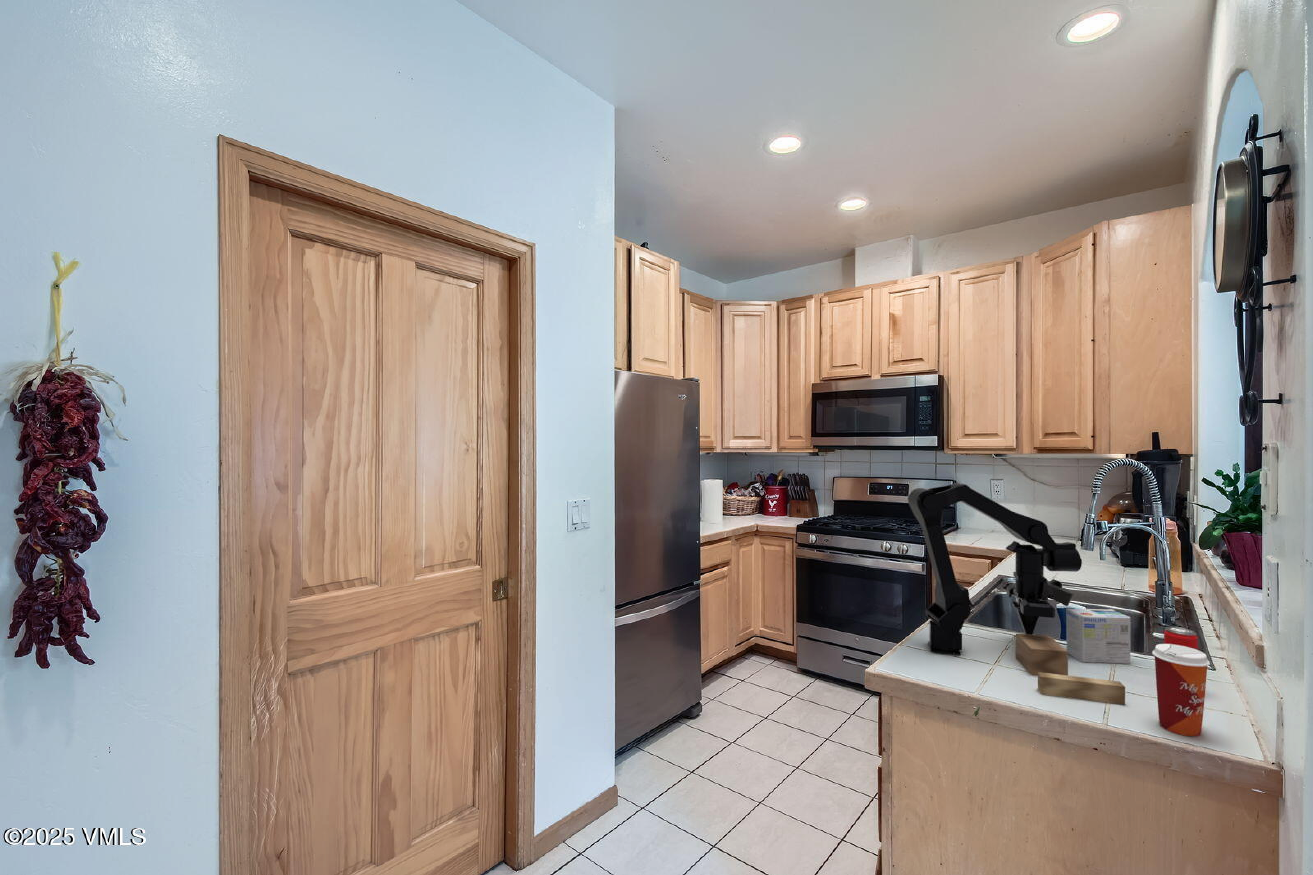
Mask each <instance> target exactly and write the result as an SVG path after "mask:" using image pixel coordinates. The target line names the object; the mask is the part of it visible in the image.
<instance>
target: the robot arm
mask: <svg viewBox="0 0 1313 875" xmlns="http://www.w3.org/2000/svg"><path fill="white" fill-rule="evenodd" d="M907 502H908V503H907V504H908V506H909V507H910V510H911V511H912V513H913V516H914V517H915V518H916V521H917V522H918V523H919V525H920V527H921V530H922V533H923V537H924V541H925V545H926V549H927V553H928V556H929V560H930V563H931V566H932V570H933V576H934V578H935V586H934V587H935V588H934V602H933V603H932V604H931V605H930V606H929V607H927V608H926V610H925V613H926V617H927V618H928V619H929V622H928V623H929V626H928V628H929V633H928V634H929V640H928V643H927V644H928V647H929V650H930V652H931V653H937V654H946V655H955V656H960V655H962V654H961V653H962V652H961V651H962V650H963V633H962V629H963V626H964V624H965V621H966V620H967V619H968V618H969V616H970V615H971V614H972V608H971V607H974V604H973V603H972V602H971V599H970V593H969V589H968V588H967V587H965V586H964V585H962V584H960V583H958V582H957V581H958V580H957V578H956V575H955V572H954V568H953V563H952V559H951V556H950V552H949V550H948V549H949V548H948V546H947V541H946V538H945V534H944V530H943V526H942V522H943V521H942V520H943V515H944V510H943V508H945V507H950V506H952V505H954V504H957V503H959V502H960V503H963V504H965V505H966V506H968V507H970V508H971V509H973V510H975V511H977V512H979V513H980V514H983V515H984V516H985V517H988V518H989V519H991V520H993V521H995V522H997V523H999V525H1001V526H1002V527H1003V528H1004V529H1005V530H1006V532H1008V533H1009V534H1011V536H1013V537H1015V538H1016V539H1017V540H1020V541H1023V542H1025V543H1029V544H1020V542H1019V541H1015V540H1013V541H1012V542H1011V543H1010V544H1008V545H1007V546H1006V547H1005V550H1006V551H1009V552H1011V553H1015V568H1014V569H1015V570H1014V571H1013V573H1012V574H1013V575H1012V576H1013V577H1014V578H1015V579H1014V580H1015V582H1014V583H1010V584H1009V585H1007V586H1006V596H1007V597H1008V598H1012V596H1014V597H1015V601H1012V602H1011V604H1012V606H1013V608H1014V610H1015V612H1016V615H1017V617H1018V619H1019V622H1020V624H1021V626H1022V628H1023V631H1024V634H1032V635H1034V631H1035V629H1036V626H1037V622H1038V620H1039V618H1049V619H1051V618H1052V619H1054V618H1056V608H1055V607H1053V606H1052V605H1051V604H1050V603H1049V602H1048V601H1049V599H1050V600H1052V601H1055V602H1057V603H1060V604H1061V605H1063V606H1065V607H1068V606H1069V604H1070V602H1071V601H1072V599H1073V596H1074V593H1073V592H1071V591H1070V590H1069V589H1067V588H1066V587H1063V583H1062V582H1061V581H1060V580H1057V579H1054V578H1053V579H1051V580H1049V581H1048V579H1047V578H1046V577H1045V576H1044V575H1045V574H1044V572H1045V570H1044V567H1045V568H1046V569H1047V570H1048V571H1049V572H1070V573H1071V572H1073V573H1075V572H1079V571H1080V570H1081V568H1082V564H1083V561H1082V559H1083V558H1081V555H1080V552H1079V551H1078V549H1077V544H1076V543H1074V542H1069V541H1067V542H1056V541H1055V540H1054V538H1053V537H1052V536H1051V535H1050V533H1049V529H1048V526H1047V524H1046V523H1045V522H1043V521H1042V520H1038V519H1035V518H1033V517H1031V516H1027V515H1024V514H1021V513H1018V512H1014V510H1013V511H1012V510H1010V509H1009V508H1007V507H1005V506H1003V505H1001V504H1000V503H998V502H997V501H995V500H993V499H991V498H988V496H985V495H984V494H982V493H979V492H978V491H976V490H975V489H973V488H971V487H970V486H969V485H968V484H965V483H961V482H954V483H951V484H948V485H943V486H942V485H941V486H936V487H930V488H924V487H917V488H914V489H913V490H912V491H910V493H909V494H908V496H907ZM1035 545H1036V546H1039V547H1041V548H1037V547H1035Z"/></svg>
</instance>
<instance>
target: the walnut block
mask: <svg viewBox="0 0 1313 875" xmlns="http://www.w3.org/2000/svg"><path fill="white" fill-rule="evenodd" d="M1015 659H1016V660H1017V662H1019V664H1020V665H1021V666H1022V668H1024V669H1025V671H1026V672H1028V674H1029V675H1030V676H1033V677H1034V676H1035V677H1038V672H1042V673H1050V674H1059V675H1068V676H1069V653H1068V651H1067V648H1066V649H1065V647H1063V646H1062V645H1061V644H1060V643H1059V642H1058V641H1057V640H1055V639H1054V638H1053V637H1052V636H1050V635H1043V634H1033V635H1032V634H1026V633H1017V632H1016V633H1015Z"/></svg>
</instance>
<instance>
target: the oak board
mask: <svg viewBox="0 0 1313 875" xmlns="http://www.w3.org/2000/svg"><path fill="white" fill-rule="evenodd" d="M1037 690H1038V692H1039V693H1040V695H1046V696H1053V697H1062V698H1069V699H1078V700H1085V701H1093V702H1100V703H1109V704H1114V705H1115V704H1116V705H1126V686H1125V685H1124V683H1122V682H1121V681H1120V680H1110V679H1103V678H1102V679H1100V678H1093V677H1082V676H1077V675H1076V676H1074V675H1069V674H1068V675H1059V674H1050V673H1042V672H1038V676H1037Z"/></svg>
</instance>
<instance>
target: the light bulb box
mask: <svg viewBox="0 0 1313 875" xmlns="http://www.w3.org/2000/svg"><path fill="white" fill-rule="evenodd" d="M1065 610H1066V614H1065V615H1066V616H1065V617H1066V618H1065V620H1066V650H1067V651H1068V655H1070V656H1072V657H1073V658H1075V659H1077V660H1078V661H1080V662H1081V663H1101V664H1102V663H1103V664H1104V663H1105V664H1131V617H1130V616H1129V615H1126V614H1123V613H1121V612H1118V611H1117V610H1115V609H1112V608H1111V609H1110V608H1107V609H1105V608H1104V609H1100V608H1099V609H1098V608H1070V607H1069V608H1066V609H1065Z"/></svg>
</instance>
